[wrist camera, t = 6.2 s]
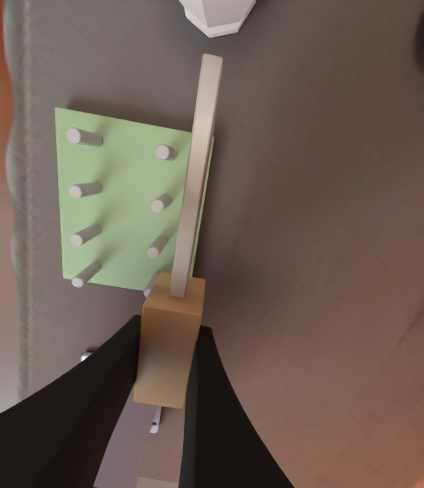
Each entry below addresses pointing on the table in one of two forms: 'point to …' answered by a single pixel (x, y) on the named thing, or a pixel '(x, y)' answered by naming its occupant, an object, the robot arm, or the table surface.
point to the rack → (120, 198)
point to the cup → (217, 15)
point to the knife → (179, 271)
